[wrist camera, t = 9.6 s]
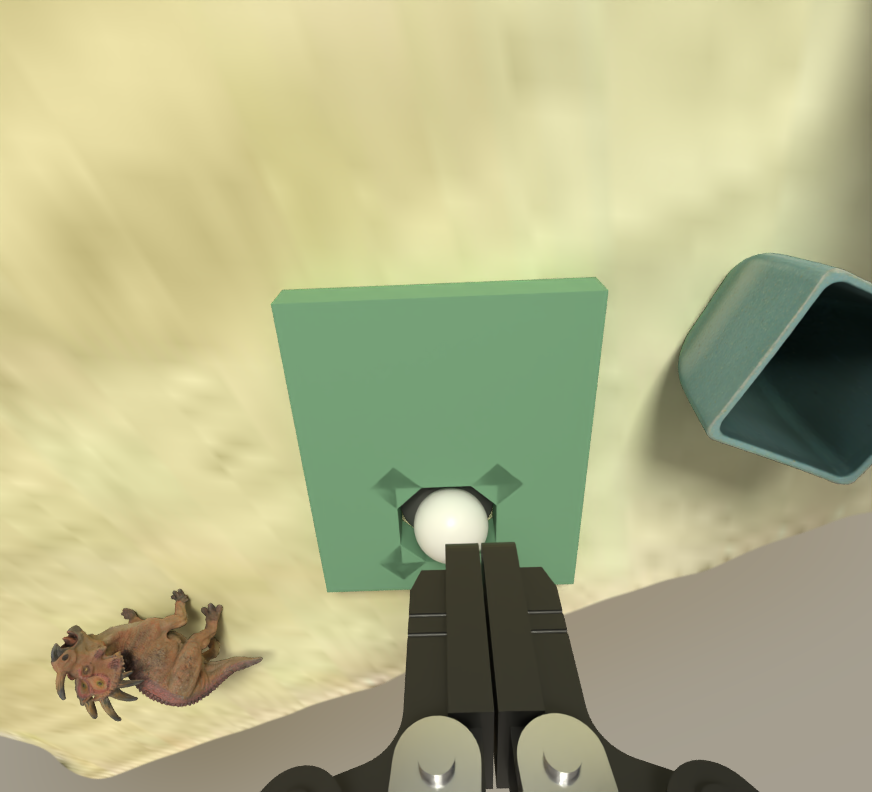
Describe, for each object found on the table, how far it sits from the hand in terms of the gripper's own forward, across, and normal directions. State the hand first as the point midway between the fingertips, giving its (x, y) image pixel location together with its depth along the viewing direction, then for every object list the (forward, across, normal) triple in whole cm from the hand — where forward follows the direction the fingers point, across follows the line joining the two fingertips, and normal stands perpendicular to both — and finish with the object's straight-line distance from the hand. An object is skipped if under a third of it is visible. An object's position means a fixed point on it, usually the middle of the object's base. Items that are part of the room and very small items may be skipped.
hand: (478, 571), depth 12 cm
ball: (+19, +1, +16) cm, 25 cm away
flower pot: (+22, -17, +3) cm, 28 cm away
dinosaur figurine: (+21, +23, +27) cm, 41 cm away
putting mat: (+22, +1, +11) cm, 24 cm away
